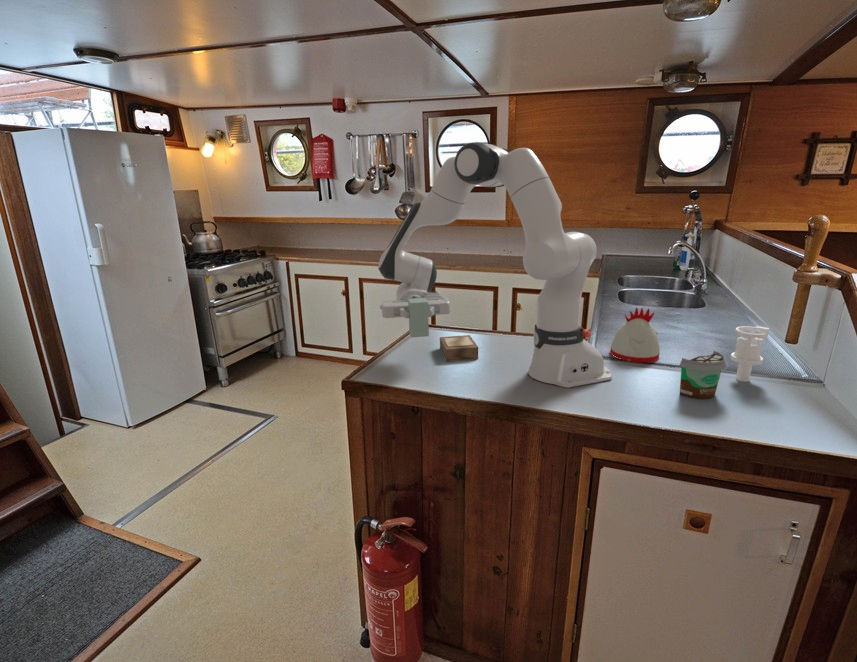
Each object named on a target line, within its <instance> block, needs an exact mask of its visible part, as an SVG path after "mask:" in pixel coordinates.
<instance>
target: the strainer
mask: <svg viewBox="0 0 857 662" xmlns="http://www.w3.org/2000/svg"><path fill="white" fill-rule="evenodd" d="M769 330H770V328H769V327H764V326H760V325H759V326H746V325H745V326H737V327H736V328H735V331H734V332H735V335H737V336H740V337H737V340H736V345H735V349H734V350H735V351H733V352H732V353H731V354H730V360H731V361H733V362H734V363H738V365H737V371H736V376H735V380H737V381H739V382H744V383H747V382H750V379H751V373H752V368H753V366H760V365H762V364H763V361H764V357H762V356H761V355H762V353H761V352H762V348H763V343H767V340H768V336H769V332H770V331H769ZM759 342H760V344H759Z"/></svg>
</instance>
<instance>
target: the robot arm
mask: <svg viewBox="0 0 857 662" xmlns="http://www.w3.org/2000/svg"><path fill="white" fill-rule="evenodd" d="M476 186H481V187H485V188H502V187H504V188H505V190H506V191H507V193H508V196H509V197H510V199H511V202H512V205H513V206H514V209H515V211H516V213H517V215H518V218H519V220H520V223H521V226H522V230H523V233H524V234H523V235H524V241H525V249H524V252H523V254H522V264H523V265H522V266H523V268H524V271H525V272H526V273H527V274H528V276H529V277H531V278H532V279H535V280H541V281H545V282H544V286H543V288H542V289H541V291H540V293H539V295H538V297H537V301H536V305H537V306H536V324H535V325H534V329H533V330H534V331H533V345H534V347H533V354H532V359H531V362H530V365H529V369H528V371H527V373H528V375H529V376H530V377H531V378H532V379H534V380H536V381H539V382H542V383H545V384H553V385H557V386H559V387H562V388H572V387H578V386H583V385H584V386H585V385H589V384H594V383H595V384H596V383H601V382H605V381H611V380H612V378H613V375H612V372H611V370H610V369H609V368H608V367H607V366H606V365H605V364H604V357H603V355H602V353H601V352H600V350H598V349H597V348H596V347H594V346H593V345H592V344H590V343H589V342H588V341H587V340H586V339H590V338H591V336H592V331H590V330H589V329H587V328H585V329H584V328H583V327H582V326H580V325H579V320H580V319H579V318H580V309H581V308H580V305H581V299H582V295H583V292H584V286H585V285H586V280H587V277H588V274H589V271H590V267H591V266H592V264H593V262H594V261H595V259H596V257H597V254H598V253H597V252H598V251H597V250H598V249H597V245H596V241H595V240H594V239H593V237H591V236H590V235H589V234H587V233H583V232H579V231H568V232H565V231H564V228H563V222H562V219H561V212H562V209H563V204H562V201H561V199H560V198H559V195H558V193H557V192H556V189H555V187H554V185H553V182H552V180H551V179H550V176H549V174H548V172H547V171H546V169H545V167H544V165H543V164H542V162H541V160H540V159H539V158H538V156H537V155H536V154H535V152H534V151H533V150H532V149H531V148H529V147H518V148H515V149H513V150H511V151H510V150H508V149H506V148H502V147H500V146H496V145H495V144H489V143H482V142H478V141H477V142H476V141H475V142H469V143H466V144H464V145H463V146H461V147H460V148H459V149H458V151H457V152H456V154H455V156H452V157H449V158H447V159H446V160H444V163H443V164H442V166H441V168H440V170H439V171H438V173H437V175H436V177H435V178H434V181H433V184H432V186H431V189H430V191H429V193H428V194H427V196H426V197H425V198H424V199H423V200H422V201H419V202H415V203H414V204H413V205H412V206H411V207H410V209H409V210H408V212H407V214H406V215H405V217H404V219H403V220H402V222H401V223H400V225H399V228H397V231H396V233H395V235H394V236H393V237H392V239H391V241H390V242H389V244H388V246H387V247H386V249H385V250H384V251H383V253H382V254H381V256H380V258H379V261H378V271H379V273H380V275H381V276H382V277H383V278H384V279H387V280H391V281H397V282H401V283H400V284H399V286H398V287H397V290H396V293H395V294H396V295H395V296H396V299H395V300H385V301H383V302H382V304H381V305H379V309H380V310H381V314H382V318H384V319H392V318H393V319H395V318H404V319H409V318H410V312H409V308H408V299H416V298H426V300H427V301H428V318H429V317H434V316H435V315H436V316H439V315H449V314H450V313H451V303H450V300H449V299H448V298H447V297H446V296H444V295H442V293H441V292H440V291H435V290H433V288H434V286H435V283H436V280H437V274H438V271H437V267H436V264H435V262H434V260H432V259H430V258H427V257H424V256H421V255H416V254H413V253H411V252H408V251H405V250H403V249H404V247H405V246H406V245H407V243H408V241H409V239H410V238H411V236H412V234H413V233H414V232H415V231H416V230H417V229H419V228H422V227H428V226H431V227H432V226H445V225H449V224H452V223H453V222H455V221H456V220H458V218H459V217H460V216H461V214H462V213H463V210H464V209H465V206H466V203H467V201H468V198H469V196H470V193H471V191H472V190H473V189H474V188H475V187H476ZM584 338H586V339H584Z"/></svg>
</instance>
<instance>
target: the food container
mask: <svg viewBox="0 0 857 662" xmlns="http://www.w3.org/2000/svg"><path fill="white" fill-rule="evenodd" d="M726 366H727V363H726V359H725V356H724V355H723V354H722V353H720V352H719V351H716V350H713V354H709V355H699V356H697V357H694V358H691V359H687V358H683V357H682V358H681V361H680V363H679V367H681V369H680V384H679V385H680V386H679V395H680V396H683V397H686V398H689V399H695V400H710V399H713V398H715V396H716V392H717V387H718V386H719V381H720V378H721V373H722V371H723V370H724V369H725V368H727V367H726Z"/></svg>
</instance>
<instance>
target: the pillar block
mask: <svg viewBox="0 0 857 662" xmlns="http://www.w3.org/2000/svg"><path fill="white" fill-rule="evenodd" d="M408 308H409V312H410V318H408V332H409V336H410V337H411V338H422V337H423V338H424V337H429V336H430V332H429V330H430V328H429V327H430V326H429V324H430V323H429V317H428V301H427V300H426V298H416V299H408Z"/></svg>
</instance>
